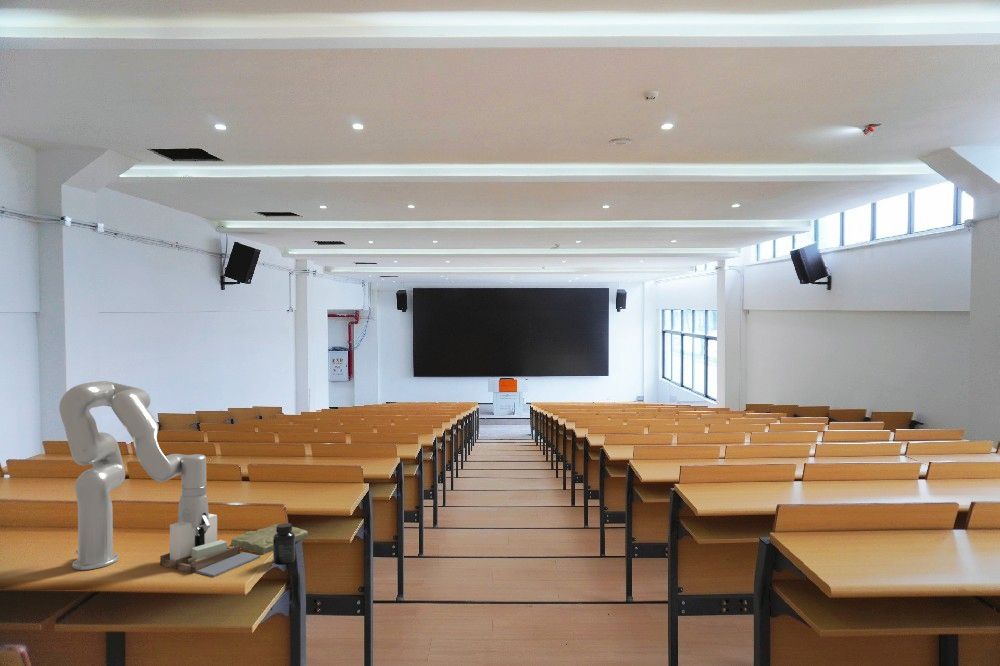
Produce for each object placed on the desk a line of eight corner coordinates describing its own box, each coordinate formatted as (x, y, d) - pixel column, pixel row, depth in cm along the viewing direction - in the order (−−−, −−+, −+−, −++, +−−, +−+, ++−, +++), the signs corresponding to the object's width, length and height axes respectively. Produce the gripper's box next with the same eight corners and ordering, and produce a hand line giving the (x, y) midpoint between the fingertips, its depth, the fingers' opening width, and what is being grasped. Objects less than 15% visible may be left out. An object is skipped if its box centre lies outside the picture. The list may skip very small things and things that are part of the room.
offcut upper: (191, 557, 193) (191, 548, 193) (221, 548, 201) (221, 539, 201) (197, 559, 191) (197, 550, 191) (227, 550, 199) (227, 542, 199)
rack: (160, 565, 193) (160, 556, 193) (208, 547, 209) (208, 539, 209) (192, 573, 186) (192, 564, 186) (240, 554, 202) (240, 545, 202)
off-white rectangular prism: (169, 564, 194) (169, 524, 194) (207, 550, 206) (207, 513, 206) (179, 566, 192) (179, 526, 192) (217, 552, 204) (217, 515, 204)
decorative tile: (308, 538, 220) (308, 528, 220) (264, 556, 202) (264, 545, 202) (273, 530, 228) (273, 521, 229) (228, 547, 211) (228, 537, 211)
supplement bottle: (275, 558, 198) (275, 522, 198) (296, 556, 200) (296, 521, 200) (271, 566, 192) (271, 529, 192) (293, 564, 193) (293, 527, 193)
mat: (196, 572, 187) (196, 570, 187) (243, 553, 203) (243, 552, 203) (213, 577, 183) (213, 575, 183) (260, 557, 199) (260, 555, 199)
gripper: (167, 491, 200) (167, 545, 199) (201, 497, 192) (201, 552, 192) (187, 486, 206) (187, 538, 206) (220, 491, 199) (221, 545, 199)
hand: (194, 544), depth 199 cm, fingers closed on off-white rectangular prism, 4 cm apart
